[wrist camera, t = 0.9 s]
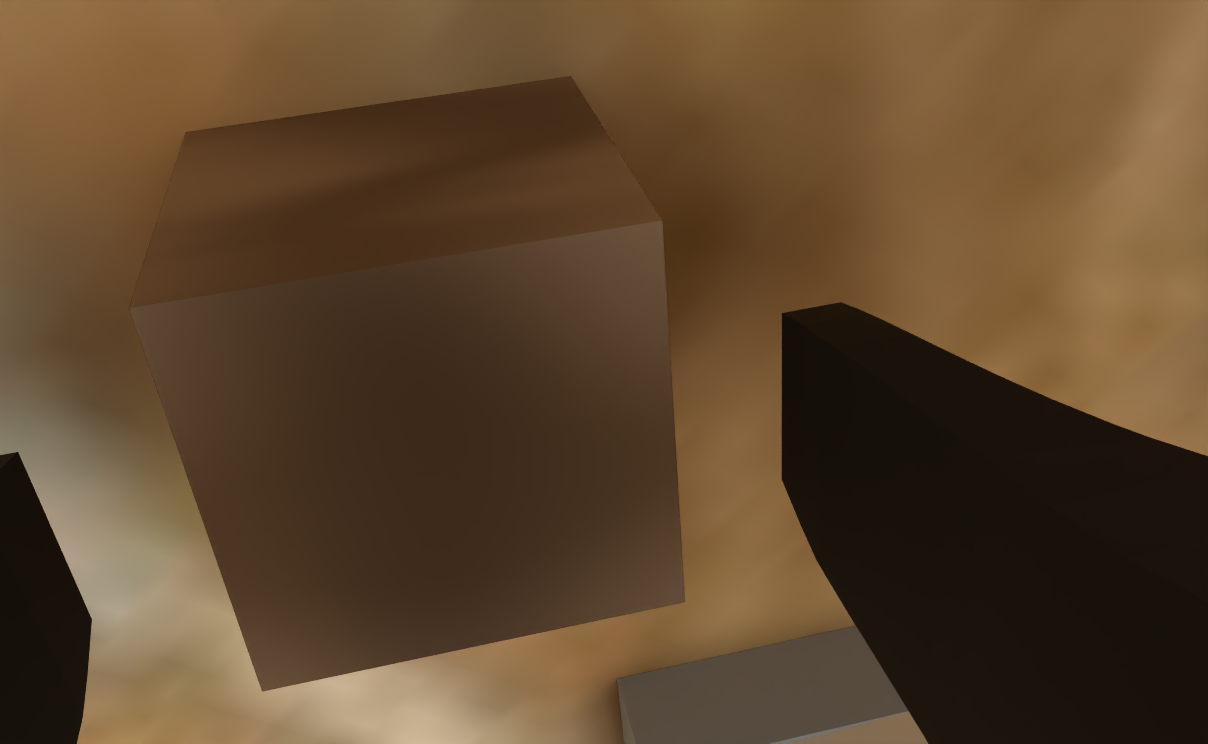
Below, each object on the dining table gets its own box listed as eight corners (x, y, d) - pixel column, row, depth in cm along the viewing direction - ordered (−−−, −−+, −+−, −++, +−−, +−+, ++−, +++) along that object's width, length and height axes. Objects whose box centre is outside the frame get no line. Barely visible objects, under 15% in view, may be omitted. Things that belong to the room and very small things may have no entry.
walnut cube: (569, 74, 14) (662, 221, 10) (600, 386, 16) (684, 602, 12) (187, 129, 13) (128, 308, 9) (278, 446, 15) (262, 691, 12)
